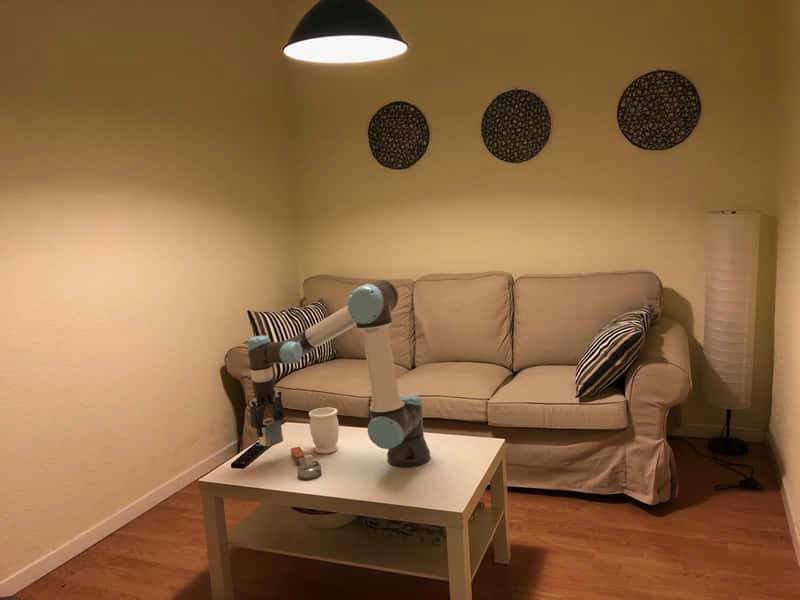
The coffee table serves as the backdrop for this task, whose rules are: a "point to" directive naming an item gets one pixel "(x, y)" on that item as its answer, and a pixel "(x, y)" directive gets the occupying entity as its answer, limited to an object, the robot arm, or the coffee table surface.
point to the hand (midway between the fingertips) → (270, 441)
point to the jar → (324, 429)
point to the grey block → (272, 431)
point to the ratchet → (306, 465)
